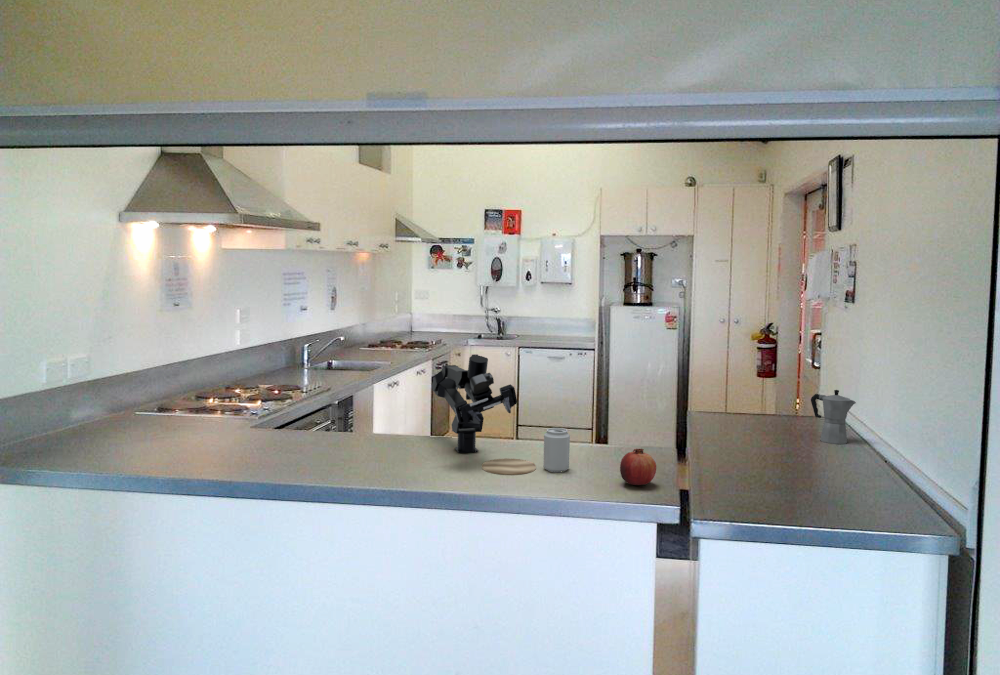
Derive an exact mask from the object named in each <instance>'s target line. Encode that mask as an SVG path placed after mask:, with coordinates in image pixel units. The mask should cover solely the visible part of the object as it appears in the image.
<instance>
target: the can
mask: <svg viewBox="0 0 1000 675" xmlns="http://www.w3.org/2000/svg"><path fill="white" fill-rule="evenodd" d="M570 436H571V435H570V434H569V431H568V429H567V428H563V427H551V428H547V429H546V432H545V433H544V434H543V468H544V469H545V471H547V470H548V471H547V472H550V471H551V473H562V472H561V471H565V470H566V471H568V469H569V468H570V450H571V448H570V446H571V445H570V443H571V440H570V439H571V437H570ZM566 471H565V472H566Z"/></svg>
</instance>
